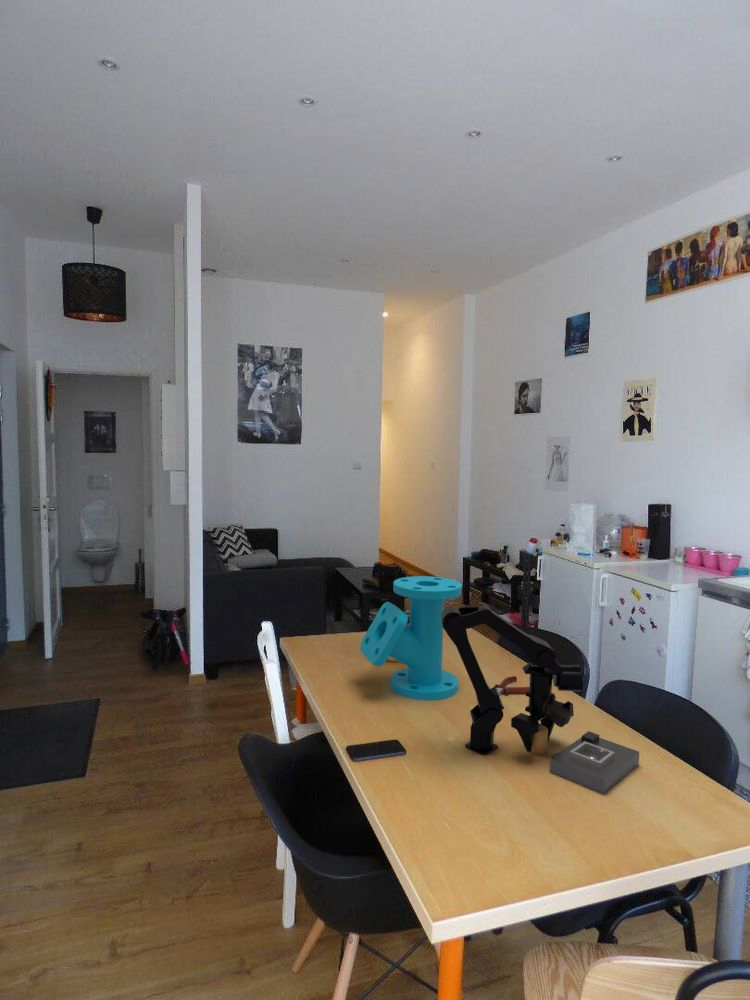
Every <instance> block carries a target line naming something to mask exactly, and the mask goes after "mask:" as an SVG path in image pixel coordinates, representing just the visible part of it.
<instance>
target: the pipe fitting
mask: <svg viewBox="0 0 750 1000" xmlns="http://www.w3.org/2000/svg"><path fill="white" fill-rule="evenodd" d="M392 592H394V593H395V594H396V595H398V596H402V597H405V598H409V616H408V614H407V613H405V612H404V611H403V610H402V609H401V608H400V607H398V606H396V605H395V604H394V603H391V602H390V601H385V602H384V603H383V604H382V605H381V607H380V608H379V610H378V611H377V613H376V616H375V617H374V618H373V621H372V622H371V624H370V625H369V627H368V629H367V631H366V633H365V635H364V636H363V638H362V640H361V642H360V646H359V649H360V650H359V651H360V652H361V653H362V655H363V656H364V657H365V658H366V660H368V661H369V663H370V664H372V665H374V666H375V667H377V668H380V667H382V666H384V665H385V664H386V662H387V660H388V659H389V657H390V658H392V659H394V660H396V661H397V662H399V663H401V664H403V665H405V666H407V668H403V669H399V670H397V671H395V672H394V673H392V675H391V677H390V688H391V690H392V691H393V692H394V693H396V694H397V695H399V696H401V697H405V698H408V699H410V700H418V701H441V700H445V699H449V698H451V697H454V696H455V695H457V693H458V692H459V679H458V677H457V676H456V675H454V674H453V673H450V672H449V671H446V670H443V651H444V650H443V647H444V646H443V644H444V628H443V625H442V621H441V613H442V611H443V610H444V609H445V600H450V599H454V598H458V597H460V596H461V595H462V592H463V584H462V583H461V582H459V581H457V580H455V579H450V578H446V577H439V576H427V575H426V576H425V575H421V576H420V575H419V576H418V575H417V576H406V577H400V578H397V579H395V580H394V581H393V591H392ZM408 620H409V625H408V626H407V623H408Z"/></svg>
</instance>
